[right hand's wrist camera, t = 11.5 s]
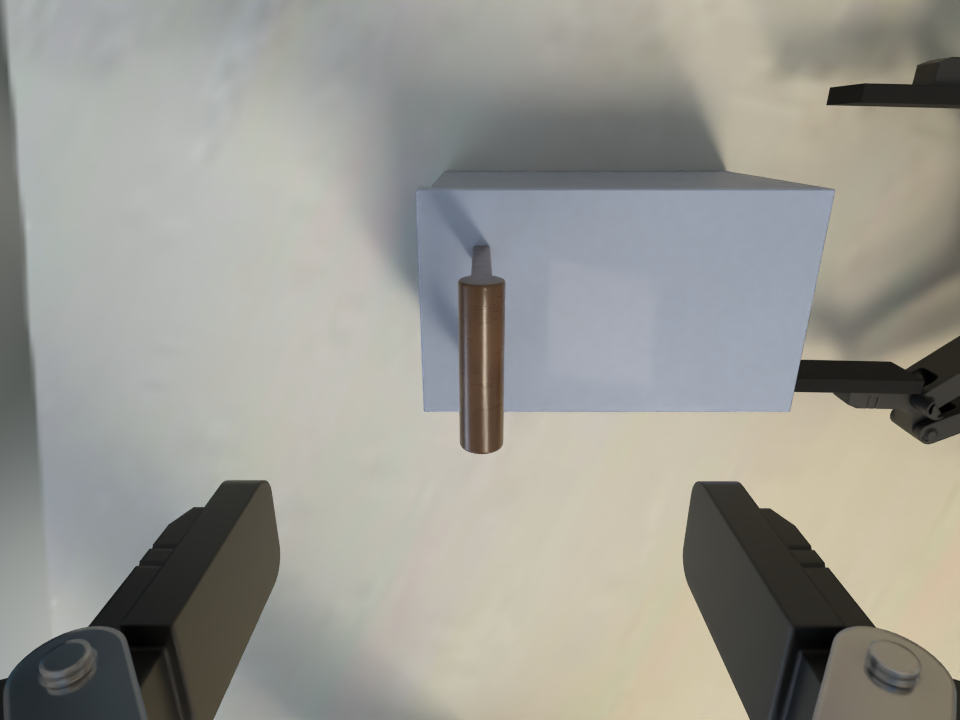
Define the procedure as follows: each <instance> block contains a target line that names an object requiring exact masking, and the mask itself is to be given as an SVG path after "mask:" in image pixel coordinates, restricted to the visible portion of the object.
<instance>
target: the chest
mask: <svg viewBox="0 0 960 720" xmlns="http://www.w3.org/2000/svg"><path fill="white" fill-rule="evenodd" d="M431 187H818V186H812V185H806V184H800V183H794V182H788V181H782V180H776V179H770V178H764V177H758V176H752V175H746V174H740V173H734V172H729V171H444V173H443V174H442V175H441V176H440V177H439V179H438V180H437V181H436V182H435V183H434V184H433V185H432V186H431Z"/></svg>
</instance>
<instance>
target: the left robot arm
mask: <svg viewBox="0 0 960 720" xmlns="http://www.w3.org/2000/svg"><path fill="white" fill-rule="evenodd" d="M827 105H845V106H885V107H926V108H960V57H950V58H944V59H937V60H931V61H927V62H925V63H922V64H920V65H917V69H916V73H915V77H914V80H913V84H912V85H909V84H868V83H864V84H856V85H848V86H840V87H831V88H830V91H829V96H828V100H827ZM794 392H830V393H833V394H834V395H836V396H837V397H838V398H840V399H841V400H842V401H844V402H845V403H847V404H848V405H850V406H853V407H855V408H876V409H893V410H892V412H891V414H890V419H891V420H892V422H894V423H895V424H897V425H898V426H899V427H901V428H902V429H904V430H905V431H906V432H908V433H909V434H911V435H912V436H914V437H915V438H917V439H918V440H919V441H921V442H922V443H924V444H931V443H935V442H937V441H940V440H943V439H945V438H948V437H951V436H954V435H956V434H959V433H960V336H959V337H957V338H956V339H954V340H952V341H951V342H949V343H947V344H946V345H944V346H943V347H941V348H939V349H938V350H936V351H935V352H933V353H931V354H930V355H928V356H927V357H925V358H923V359H922V360H920V361H919V362H917V363H915V364H914V365H912V366H911V367H909V368H907V369H906V370H905V369H903V368H901V367H899V366H897V365H896V364H894V363H892V362H878V361H831V360H800V365H799V370H798V375H797V380H796V384H795V389H794Z"/></svg>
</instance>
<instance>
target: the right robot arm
mask: <svg viewBox="0 0 960 720" xmlns="http://www.w3.org/2000/svg"><path fill="white" fill-rule="evenodd" d="M279 564H280V546H279V539H278V532H277V525H276V518H275V511H274V504H273V497H272V491H271V487H270V485H269V483H268V482H267V481H265V480H226V481H224V482H223V483H222V484H221V485H220V486H219V488H218V489H217V491H216V492H215V493H214V495H213V496H212V497H211V499H210V500H209V502H208V503H207V504H206V506H205V507H193V508H192V509H191V510H189V511H188V512H186V513H185V514H183V515H182V516H180V517H179V518H178V519H176V520H175V521H173V522H172V523H170V524H169V525H168V526H167V528H166V529H165V530H164V531H163V533H162V534H161V535H160V536H159V538H158V539H157V540H156V541H155V543H154V544H153V548H152V549H149V550H148V552H147V553H146V554H145V555H144V557H143V558H142V559H141V561H140V564H139V566H136V567H135V568H134V569H133V571H132V572H131V573H130V574H129V576H128V577H127V578H126V580H125V581H124V582H123V583H122V585H121V586H120V587H119V588H118V590H117V591H116V592H115V593H114V595H113V596H112V597H111V599H110V600H109V601H108V602H107V604H106V605H105V606H104V607H103V609H102V610H101V611H100V612H99V614H98V615H97V616H96V618H95V619H94V620H93V621H92V623H91V624H90V625H89V626H88V627H85V628H81V629H77V630H73V631H70V632H67V633H64V634H62V635H60V636H58V637H55V638H53V639H51V640H50V641H48V642H46V643H44V644H42V645H41V646H39V647H38V648H36V649H35V650H34V651H32V652H31V653H30V654H28V655H27V656H26V657H25V658H24V659H23V660H22V661H21V662H20V663H19V664H18V665H17V666H16V667H15V668H14V670H13V671H12V672H11V674H10V675H9V677H8V678H6V679H2V680H0V720H213V719H214V717H215V715H216V713H217V710H218V708H219V706H220V704H221V701H222V699H223V697H224V695H225V693H226V690H227V688H228V686H229V684H230V682H231V679H232V677H233V675H234V673H235V671H236V668H237V666H238V664H239V662H240V660H241V657H242V655H243V653H244V651H245V648H246V646H247V644H248V642H249V640H250V637H251V635H252V633H253V631H254V629H255V626H256V624H257V622H258V620H259V618H260V615H261V613H262V611H263V609H264V606H265V604H266V602H267V600H268V598H269V595H270V593H271V591H272V589H273V587H274V584H275V582H276V579H277V575H278V571H279ZM683 565H684V572H685V576H686V580H687V583H688V585H689V588H690V590H691V592H692V594H693V596H694V599H695V601H696V603H697V605H698V607H699V609H700V612H701V614H702V616H703V618H704V620H705V623H706V625H707V627H708V629H709V631H710V633H711V636H712V638H713V640H714V642H715V644H716V647H717V649H718V651H719V653H720V655H721V657H722V660H723V662H724V664H725V666H726V668H727V671H728V673H729V675H730V677H731V679H732V681H733V684H734V686H735V688H736V690H737V692H738V695H739V697H740V699H741V701H742V703H743V705H744V708H745V710H746V712H747V714H748V716H749V719H750V720H960V681H958V680H955V679H952V677H951V675H950V674H949V672H948V671H947V670H946V668H945V667H944V666H943V665H942V664H941V663H940V662H939V661H938V660H937V659H936V658H935V657H934V656H933V655H932V654H930V653H929V652H928V651H926V650H925V649H924V648H922V647H921V646H919V645H918V644H916V643H914V642H912V641H910V640H909V639H907V638H905V637H902V636H900V635H898V634H896V633H893V632H890V631H887V630H883V629H879V628H876V627H875V626H874V624H873V623H872V622H871V621H870V619H869V618H868V617H867V616H866V614H865V613H864V612H863V611H862V609H861V608H860V607H859V606H858V604H857V603H856V602H855V601H854V599H853V598H852V597H851V596H850V594H849V593H848V592H847V591H846V589H845V588H844V587H843V586H842V584H841V583H840V582H839V580H838V579H837V578H836V577H835V575H834V574H833V573H832V572H831V570H830V569H829V568H825V563H824V562H823V560H822V559H821V558H820V557H819V555H818V554H817V553H816V552H815V550H812V549H811V545H810V544H809V543H808V542H807V540H806V539H805V538H804V537H803V535H802V534H801V533H800V532H799V530H798V529H797V528H796V526H794V525H793V524H792V523H790V522H789V521H787V520H786V519H784V518H783V517H781V516H780V515H779V514H777V513H776V512H774V511H773V510H771V509H770V508H759V507H758V506H757V504H756V503H755V502H754V500H753V499H752V498H751V496H750V495H749V494H748V492H747V491H746V490H745V488H744V487H743V486H742V484H741V483H739V482H737V481H699V482H696V483H695V484H694V486H693V489H692V493H691V500H690V506H689V513H688V520H687V527H686V534H685V540H684V547H683Z"/></svg>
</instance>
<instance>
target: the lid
mask: <svg viewBox="0 0 960 720" xmlns="http://www.w3.org/2000/svg"><path fill="white" fill-rule="evenodd" d="M834 194H835V190H834V189H830V188H824V187H419V188H417V189H416V211H417V238H418V265H419V292H420V319H421V346H422V373H423V400H424V411H425V412H460V444H461V446H462V448H463V449H464V450H466V451H468V452H471V453H476V454H487V453H492V452H495V451H497V450H499V449H500V448H501V447H502V445H503V417H504V412H790V409H791V404H792V399H793V394H794V389H795V384H796V380H797V375H798V370H799V365H800V360H801V355H802V350H803V345H804V340H805V336H806V331H807V326H808V321H809V316H810V311H811V306H812V301H813V296H814V291H815V287H816V282H817V277H818V272H819V267H820V262H821V257H822V252H823V247H824V242H825V238H826V233H827V228H828V223H829V218H830V213H831V208H832V203H833V198H834Z"/></svg>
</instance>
